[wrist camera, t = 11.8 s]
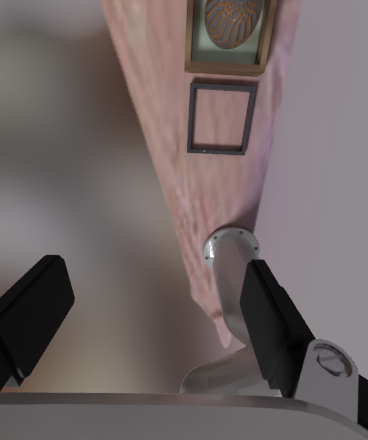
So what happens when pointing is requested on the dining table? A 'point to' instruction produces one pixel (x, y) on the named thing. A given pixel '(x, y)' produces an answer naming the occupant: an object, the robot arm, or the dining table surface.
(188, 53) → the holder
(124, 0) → the dining table surface
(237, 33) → the vase
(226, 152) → the trivet frame
